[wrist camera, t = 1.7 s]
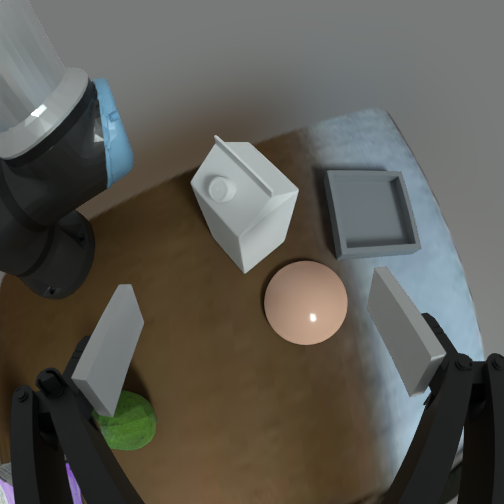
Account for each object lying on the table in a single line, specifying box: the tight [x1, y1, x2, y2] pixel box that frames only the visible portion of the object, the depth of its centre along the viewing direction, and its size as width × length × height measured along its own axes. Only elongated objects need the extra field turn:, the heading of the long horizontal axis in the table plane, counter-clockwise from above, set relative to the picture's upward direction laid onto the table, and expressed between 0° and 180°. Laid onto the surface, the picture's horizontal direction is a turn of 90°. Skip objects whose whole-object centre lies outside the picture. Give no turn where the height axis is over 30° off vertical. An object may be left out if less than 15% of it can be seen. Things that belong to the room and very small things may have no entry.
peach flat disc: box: [264, 261, 347, 345], centre depth 37 cm, size 11×11×1 cm
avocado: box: [92, 390, 157, 450], centre depth 28 cm, size 8×8×12 cm
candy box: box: [0, 454, 84, 504], centre depth 21 cm, size 14×6×16 cm, turn 177°
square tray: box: [323, 170, 421, 260], centre depth 40 cm, size 13×13×3 cm
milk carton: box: [191, 135, 299, 274], centre depth 31 cm, size 7×7×19 cm
